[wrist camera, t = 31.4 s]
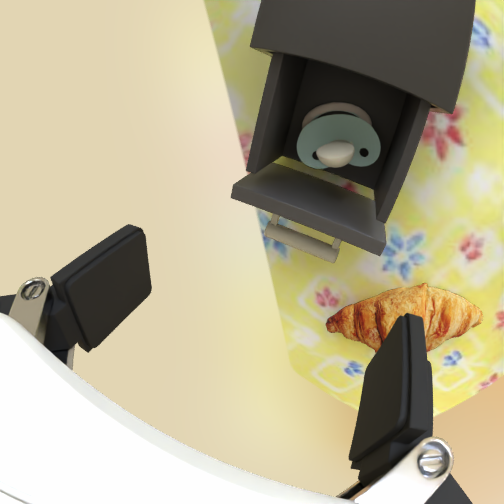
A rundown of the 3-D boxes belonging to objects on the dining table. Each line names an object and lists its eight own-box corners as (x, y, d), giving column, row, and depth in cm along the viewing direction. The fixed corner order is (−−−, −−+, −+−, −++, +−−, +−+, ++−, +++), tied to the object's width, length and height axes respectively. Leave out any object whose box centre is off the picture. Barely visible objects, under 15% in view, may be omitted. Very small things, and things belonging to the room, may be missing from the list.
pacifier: (295, 107, 24) (305, 167, 26) (275, 105, 19) (289, 182, 21) (372, 99, 21) (381, 163, 23) (375, 94, 16) (385, 177, 18)
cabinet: (421, 110, 21) (452, 114, 12) (289, 65, 23) (249, 47, 15) (447, -12, 12) (477, -52, 3) (319, -51, 14) (292, -103, 6)
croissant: (476, 274, 28) (498, 280, 21) (472, 346, 28) (489, 367, 21) (330, 284, 37) (318, 292, 30) (331, 353, 37) (319, 376, 30)
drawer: (361, 248, 29) (356, 298, 22) (257, 207, 32) (222, 242, 25) (424, 82, 19) (451, 74, 12) (299, 40, 21) (270, 16, 14)
